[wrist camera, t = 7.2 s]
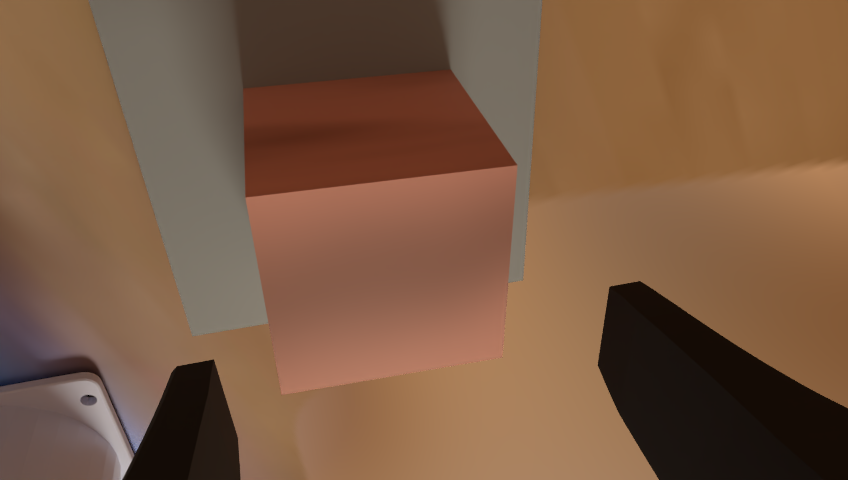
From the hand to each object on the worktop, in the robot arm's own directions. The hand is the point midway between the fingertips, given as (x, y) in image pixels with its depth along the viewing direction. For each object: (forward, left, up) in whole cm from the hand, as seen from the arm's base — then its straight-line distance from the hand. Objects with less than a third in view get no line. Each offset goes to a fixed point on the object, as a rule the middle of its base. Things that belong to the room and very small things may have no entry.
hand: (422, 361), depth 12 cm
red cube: (0, 0, -7) cm, 7 cm away
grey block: (+1, 0, -10) cm, 11 cm away
